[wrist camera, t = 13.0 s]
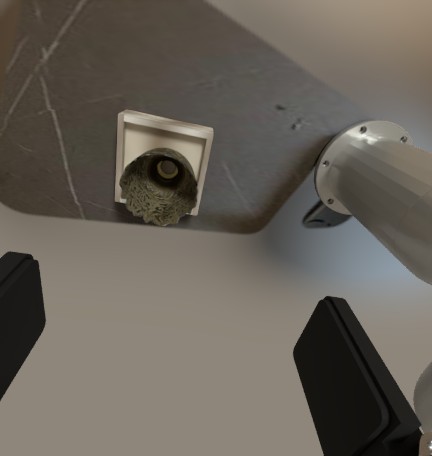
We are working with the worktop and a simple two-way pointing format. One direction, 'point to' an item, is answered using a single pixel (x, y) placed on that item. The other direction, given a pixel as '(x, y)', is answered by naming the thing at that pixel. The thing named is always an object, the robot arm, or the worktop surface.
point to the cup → (159, 187)
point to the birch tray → (161, 144)
